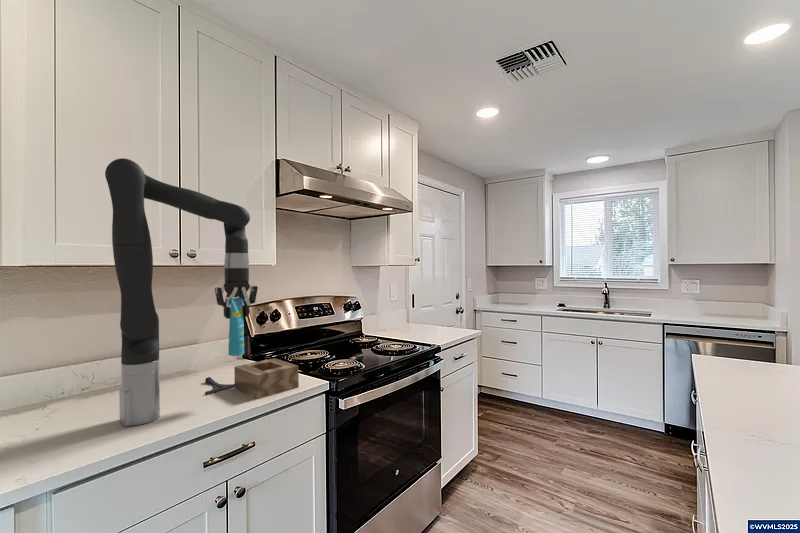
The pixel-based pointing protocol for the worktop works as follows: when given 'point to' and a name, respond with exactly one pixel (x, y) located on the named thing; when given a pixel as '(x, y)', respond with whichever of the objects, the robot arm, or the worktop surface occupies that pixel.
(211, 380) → the bracket
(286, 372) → the socket block
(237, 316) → the tube
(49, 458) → the worktop surface
